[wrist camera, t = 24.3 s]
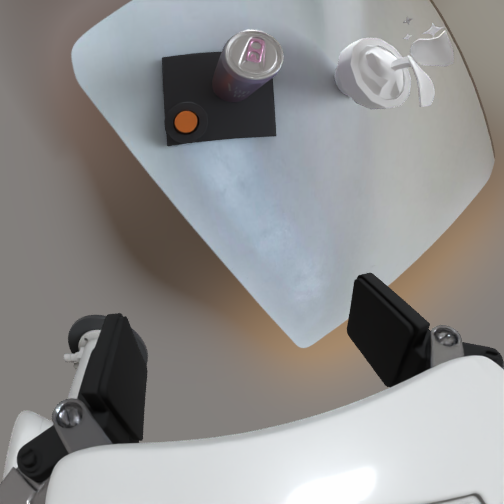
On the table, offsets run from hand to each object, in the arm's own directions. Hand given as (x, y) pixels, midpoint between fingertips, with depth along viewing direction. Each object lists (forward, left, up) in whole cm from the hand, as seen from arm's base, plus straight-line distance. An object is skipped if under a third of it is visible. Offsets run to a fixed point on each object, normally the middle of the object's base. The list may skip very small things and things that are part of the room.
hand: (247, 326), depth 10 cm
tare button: (-2, +10, -31) cm, 32 cm away
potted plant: (+25, +17, -34) cm, 45 cm away
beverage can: (+5, +15, -32) cm, 36 cm away
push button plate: (+3, +14, -33) cm, 36 cm away
